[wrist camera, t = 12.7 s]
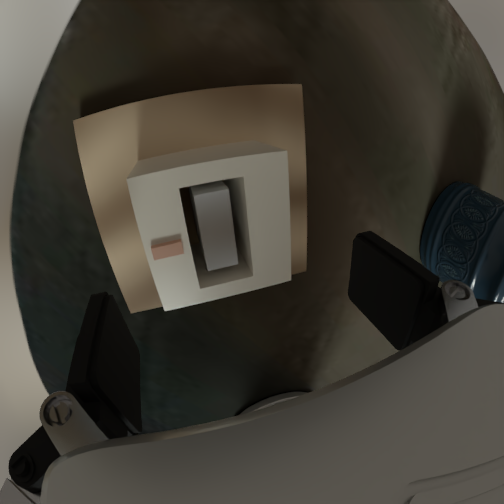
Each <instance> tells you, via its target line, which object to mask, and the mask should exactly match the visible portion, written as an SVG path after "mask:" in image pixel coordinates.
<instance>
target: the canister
mask: <svg viewBox="0 0 504 504" xmlns="http://www.w3.org/2000/svg"><path fill="white" fill-rule="evenodd" d="M420 257H421V262H422V264H423V266H424V267H425V268H427V269H428V270H430V271H431V272H432V273H434V274H435V275H436V276H438V277H439V278H440V280H439V281H441V282H442V283H443V282H445V281H447V280H457V281H460V282H463V283H465V284H466V285H468V286H469V287H470V288H471V290H472V291H473V293H474V296H475V298H477V299H483V300H489V301H495V302H500V303H504V201H503V200H501V199H499V198H497V197H495V196H493V195H491V194H489V193H487V192H485V191H483V190H481V189H480V188H479V187H478V186H476V185H473V184H471V183H464V182H455V183H452V184H451V185H449V186H448V187H447V188H446V189H445V190H444V191H443V192H442V193H441V194H440V196H439V197H438V199H437V200H436V202H435V203H434V205H433V207H432V209H431V211H430V213H429V216H428V218H427V221H426V223H425V226H424V230H423V234H422V238H421V246H420Z"/></svg>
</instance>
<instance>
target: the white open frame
mask: <svg viewBox="0 0 504 504" xmlns="http://www.w3.org/2000/svg"><path fill="white" fill-rule="evenodd" d="M126 180H127V184H128V189H129V193H130V197H131V202H132V206H133V210H134V214H135V218H136V221H137V225H138V229H139V232H140V236H141V240H142V243H143V247H144V250H145V253H146V257H147V260H148V263H149V266H150V270H151V273H152V276H153V279H154V282H155V285H156V288H157V291H158V294H159V297H160V299H161V302H162V305H163V308H164V311H169V310H173V309H177V308H182V307H186V306H191V305H195V304H199V303H204V302H208V301H212V300H216V299H220V298H225V297H229V296H233V295H237V294H241V293H245V292H249V291H253V290H257V289H260V288H264V287H268V286H272V285H276V284H280V283H283V282H287V281H291V231H290V197H289V173H288V153H287V150H284V149H280V148H277V147H274V146H271V145H268V144H265V143H262V142H258V141H255V140H251V141H243V142H235V143H228V144H221V145H214V146H208V147H202V148H196V149H191V150H185V151H180V152H175V153H170V154H165V155H161V156H156V157H152V158H147V159H143V160H139V161H137V163H136V165H135V166H134V168H133V169H132V171H131V172H130V174H129V176H128V177H127V179H126ZM220 180H224V184H225V185H226V186H227V187H228V189H229V195H230V203H231V211H232V219H233V226H234V234H235V242H236V250H237V257H238V264H237V265H233V266H228V267H224V268H220V269H215V270H211V271H208V270H207V266H206V263H205V260H204V256H203V253H202V250H201V246H200V243H197V244H193V245H190V242H189V237H188V233H187V228H186V223H185V218H184V213H183V207H182V202H181V197H180V191H179V188H183V187H188V186H193V185H198V184H203V183H209V182H214V181H220Z"/></svg>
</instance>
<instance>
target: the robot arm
mask: <svg viewBox="0 0 504 504" xmlns="http://www.w3.org/2000/svg"><path fill="white" fill-rule="evenodd" d="M439 280H440V278H439V277H438V276H436V275H435V274H434V273H432V272H431V271H430V270H428V269H427V268H425V267H424V266H423V265H421V264H420V263H418V262H417V261H415V260H414V259H413V258H411V257H410V256H408V255H407V254H405V253H404V252H402V251H401V250H399V249H398V248H396V247H395V246H393V245H392V244H390V243H389V242H387V241H386V240H384V239H383V238H381V237H380V236H378V235H376V234H375V233H373V232H372V231H367V232H363V233H359V234H357V236H356V238H355V239H354V240H353V250H352V261H351V271H350V280H349V288H348V296H349V298H350V300H351V301H352V302H353V303H354V304H355V305H356V306H357V307H358V309H359V310H360V311H361V312H362V313H363V314H364V315H365V316H366V317H367V318H368V319H369V320H370V321H371V322H372V323H373V325H374V326H375V327H376V328H377V329H378V330H379V331H380V332H381V333H382V334H383V335H384V336H385V338H386V339H387V340H388V341H389V342H390V343H391V344H392V345H393V346H394V347H395V348H396V349H397V350H400V351H399V352H397V353H395V354H393V355H391V356H389V357H388V358H386V359H384V360H382V361H380V362H378V363H376V364H374V365H372V366H370V367H368V368H365V369H363V370H361V371H359V372H357V373H355V374H353V375H350V376H348V377H346V378H344V379H341V380H339V381H337V382H334V383H332V384H329V385H327V386H325V387H322V388H320V389H317V390H314V391H312V392H309V393H306V392H288V393H284V394H279V395H276V396H273V397H270V398H267V399H265V400H262V401H260V402H258V403H256V404H254V405H252V406H250V407H249V408H247V409H246V410H244V411H243V412H242V413H241V414H240V415H238V416H234V417H230V418H226V419H222V420H218V421H214V422H209V423H204V424H200V425H195V426H190V427H185V428H180V429H174V430H169V431H163V432H156V433H149V434H142V435H138V433H140V432H142V421H141V401H140V354H139V350H138V347H137V345H136V343H135V341H134V339H133V337H132V335H131V333H130V331H129V329H128V327H127V325H126V323H125V321H124V319H123V317H122V314H121V312H120V310H119V308H118V306H117V303H116V301H115V299H114V297H113V295H108V293H107V292H102V293H98V294H93V295H91V297H90V300H89V303H88V306H87V309H86V313H85V316H84V319H83V323H82V326H81V330H80V334H79V336H78V338H77V342H76V346H75V350H74V354H73V358H72V362H71V367H70V371H69V376H68V381H67V386H66V391H58V392H55V393H53V394H51V395H49V396H48V397H47V398H46V399H45V400H44V402H43V404H42V405H41V408H40V420H41V423H42V426H41V427H40V428H39V429H38V430H37V431H36V432H35V433H34V434H33V435H31V436H30V437H29V438H28V439H27V440H26V441H25V442H24V443H23V444H22V445H21V446H20V447H19V448H18V449H17V450H16V451H15V452H14V453H13V454H12V456H11V458H10V461H9V474H10V476H11V480H9V479H8V478H7V479H6V481H5V483H4V485H3V487H2V489H1V491H0V504H504V303H500V302H495V301H489V300H483V299H477V298H475V296H474V293H473V291H472V290H471V288H470V287H469V286H468V285H466V284H465V283H463V282H460V281H457V280H447V281H445V282H443V284H442V286H441V288H439V287H438V283H439Z"/></svg>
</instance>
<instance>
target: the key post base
mask: <svg viewBox="0 0 504 504" xmlns="http://www.w3.org/2000/svg"><path fill="white" fill-rule="evenodd" d="M73 123H74V129H75V135H76V141H77V146H78V151H79V156H80V161H81V165H82V170H83V174H84V178H85V182H86V186H87V190H88V194H89V198H90V201H91V205H92V208H93V212H94V215H95V219H96V222H97V225H98V228H99V231H100V235H101V238H102V241H103V244H104V246H105V249H106V252H107V255H108V258H109V260H110V263H111V266H112V269H113V271H114V274H115V276H116V279H117V281H118V284H119V286H120V289H121V291H122V294H123V296H124V298H125V301H126V303H127V305H128V308H129V310H130V312H131V313H135V312H139V311H144V310H149V309H153V308H158V307H162V306H163V305H162V302H161V299H160V297H159V294H158V291H157V288H156V285H155V282H154V279H153V276H152V273H151V270H150V266H149V263H148V260H147V257H146V253H145V250H144V247H143V243H142V240H141V236H140V232H139V229H138V225H137V221H136V218H135V214H134V210H133V206H132V202H131V197H130V193H129V189H128V184H127V180H126V179H127V177H128V176H129V174H130V172H131V171H132V169H133V168H134V166H135V165H136V163H137V161H139V160H143V159H147V158H152V157H156V156H161V155H165V154H170V153H175V152H180V151H185V150H191V149H196V148H202V147H208V146H214V145H221V144H228V143H235V142H243V141H251V140H255V141H258V142H262V143H265V144H268V145H271V146H274V147H277V148H280V149H284V150H287V153H288V173H289V197H290V231H291V275H293V274H297V273H301V272H305V271H306V268H307V176H306V146H305V125H304V108H303V94H302V84H264V85H244V86H231V87H221V88H212V89H204V90H196V91H189V92H183V93H177V94H171V95H166V96H161V97H156V98H151V99H147V100H142V101H138V102H134V103H130V104H126V105H122V106H118V107H115V108H111V109H108V110H104V111H101V112H98V113H95V114H91V115H88V116H85V117H82V118H79V119H77V120H74V121H73ZM179 191H180V197H181V202H182V207H183V213H184V218H185V223H186V228H187V233H188V237H189V242H190V245H193V244H197V243H200V246H201V250H202V253H203V256H204V260H205V263H206V266H207V270H208V271H211V270H215V269H220V268H224V267H228V266H233V265H237V264H238V257H237V250H236V242H235V234H234V226H233V219H232V211H231V203H230V195H229V189H228V187H227V186H226V185H225V184H224V180H220V181H214V182H209V183H203V184H198V185H193V186H188V187H183V188H179Z"/></svg>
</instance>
